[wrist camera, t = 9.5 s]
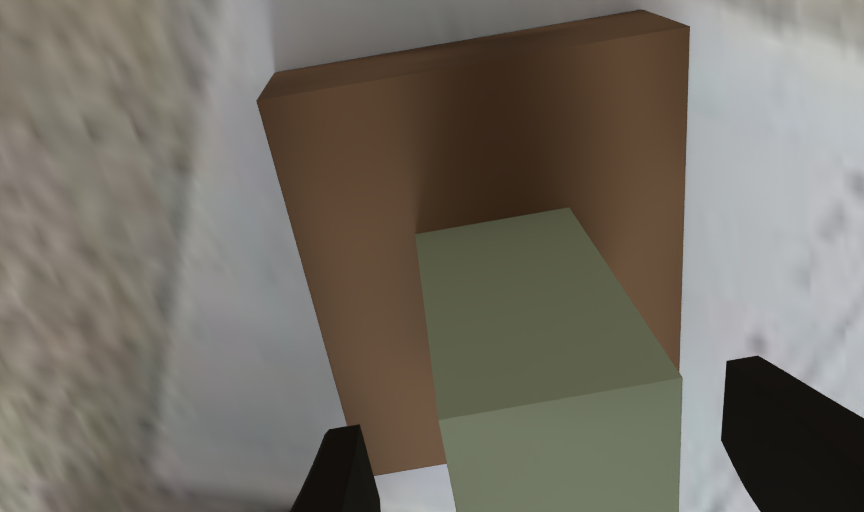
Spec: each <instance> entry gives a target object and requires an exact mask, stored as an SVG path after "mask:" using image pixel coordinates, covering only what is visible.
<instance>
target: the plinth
mask: <svg viewBox="0 0 864 512" xmlns="http://www.w3.org/2000/svg"><path fill="white" fill-rule="evenodd" d="M689 36H690V26H687V25H685V24H682V23H679V22H676V21H673V20H670V19H668V18H665V17H662V16H659V15H656V14H653V13H651V12H648V11H645V10H637V11H631V12H625V13H620V14H614V15H608V16H602V17H596V18H590V19H585V20H579V21H573V22H567V23H561V24H556V25H550V26H544V27H538V28H532V29H526V30H521V31H515V32H509V33H503V34H497V35H492V36H486V37H480V38H474V39H468V40H463V41H457V42H451V43H445V44H439V45H433V46H428V47H422V48H416V49H410V50H404V51H399V52H393V53H387V54H381V55H375V56H369V57H364V58H358V59H352V60H346V61H340V62H335V63H329V64H323V65H317V66H311V67H305V68H300V69H294V70H288V71H282V72H276V73H274V74H273V76H272V77H271V79H270V80H269V82H268V84H267V85H266V87H265V88H264V90H263V91H262V93H261V95H260V96H259V98H258V99H257V104H258V108H259V111H260V115H261V119H262V122H263V126H264V129H265V133H266V136H267V140H268V144H269V147H270V151H271V154H272V158H273V161H274V165H275V169H276V172H277V176H278V179H279V183H280V187H281V190H282V194H283V197H284V201H285V204H286V208H287V212H288V215H289V219H290V222H291V226H292V230H293V233H294V237H295V240H296V244H297V247H298V251H299V255H300V258H301V262H302V265H303V269H304V273H305V276H306V280H307V283H308V287H309V290H310V294H311V298H312V301H313V305H314V308H315V312H316V315H317V319H318V323H319V326H320V330H321V333H322V337H323V341H324V344H325V348H326V351H327V355H328V358H329V362H330V366H331V369H332V373H333V376H334V380H335V384H336V387H337V391H338V394H339V398H340V401H341V405H342V409H343V412H344V416H345V419H346V423H347V426H352V425H358V424H360V427H361V430H362V434H363V438H364V442H365V445H366V449H367V453H368V457H369V460H370V464H371V468H372V472H373V475H374V476H377V475H383V474H388V473H394V472H400V471H406V470H412V469H418V468H424V467H430V466H435V465H441V464H447V461H446V456H445V451H444V446H443V441H442V436H441V431H440V426H439V420H438V413H437V405H436V397H435V389H434V381H433V373H432V365H431V357H430V349H429V341H428V333H427V325H426V317H425V309H424V301H423V293H422V285H421V277H420V269H419V261H418V253H417V245H416V237H415V234H420V233H426V232H431V231H437V230H443V229H448V228H454V227H460V226H466V225H471V224H477V223H483V222H489V221H494V220H500V219H506V218H511V217H517V216H523V215H529V214H534V213H540V212H546V211H552V210H557V209H563V208H570V209H571V211H572V212H573V214H574V215H575V217H576V218H577V220H578V221H579V223H580V224H581V226H582V227H583V229H584V230H585V232H586V233H587V235H588V236H589V238H590V239H591V241H592V242H593V244H594V245H595V247H596V248H597V250H598V251H599V253H600V254H601V256H602V257H603V259H604V260H605V262H606V263H607V265H608V266H609V268H610V269H611V271H612V272H613V274H614V275H615V277H616V278H617V280H618V281H619V283H620V284H621V286H622V287H623V289H624V290H625V292H626V293H627V295H628V296H629V298H630V300H631V301H632V303H633V304H634V306H635V307H636V309H637V310H638V312H639V313H640V315H641V316H642V318H643V319H644V321H645V322H646V324H647V325H648V327H649V328H650V330H651V331H652V333H653V334H654V336H655V337H656V339H657V340H658V342H659V343H660V345H661V346H662V348H663V349H664V351H665V352H666V354H667V355H668V357H669V358H670V360H671V361H672V363H673V364H674V366H675V367H676V369H677V370H678V372H679V364H680V331H681V298H682V266H683V233H684V200H685V167H686V135H687V102H688V69H689Z"/></svg>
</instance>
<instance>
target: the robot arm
mask: <svg viewBox="0 0 864 512" xmlns="http://www.w3.org/2000/svg"><path fill="white" fill-rule="evenodd" d="M721 441H722V443H723V445H724V447H725V449H726V451H727V453H728V456H729V458H730V460H731V462H732V464H733V466H734V468H735V470H736V472H737V474H738V476H739V477H740V479H741V481H742V483H743V485H744V487H745V489H746V490H747V492H748V493H749V495H750V496H751V498H752V500H753V501H754V503H755V504H756V506H757V507H758V509H759V510H760V512H864V418H862V417H860V416H859V415H857V414H855V413H854V412H852V411H850V410H848V409H847V408H845V407H843V406H841V405H840V404H838V403H836V402H835V401H833V400H831V399H830V398H828V397H826V396H825V395H823V394H821V393H820V392H818V391H816V390H815V389H813V388H811V387H810V386H808V385H806V384H805V383H803V382H801V381H800V380H798V379H797V378H795V377H793V376H792V375H790V374H788V373H787V372H785V371H783V370H782V369H780V368H778V367H777V366H775V365H773V364H772V363H770V362H768V361H766V360H765V359H763V358H761V357H759V356H753V357H747V358H741V359H735V360H730V361H727V363H726V377H725V391H724V406H723V420H722V434H721ZM290 512H381V510H380V498H379V494H378V490H377V487H376V483H375V479H374V475H373V472H372V468H371V464H370V460H369V457H368V453H367V449H366V445H365V442H364V438H363V434H362V430H361V427H360V424H358V425H352V426H346V427H340V428H334V429H329V430H328V431H327V432H326V434H325V435H324V438H323V440H322V443H321V445H320V448H319V450H318V453H317V455H316V458H315V460H314V462H313V465H312V467H311V469H310V471H309V474H308V476H307V478H306V480H305V482H304V485H303V487H302V489H301V491H300V493H299V495H298V497H297V499H296V501H295V503H294V505H293V507H292V509H291V511H290Z"/></svg>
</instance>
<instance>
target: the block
mask: <svg viewBox="0 0 864 512" xmlns="http://www.w3.org/2000/svg"><path fill="white" fill-rule="evenodd" d="M415 237H416V245H417V253H418V261H419V269H420V277H421V285H422V293H423V301H424V309H425V317H426V325H427V333H428V341H429V349H430V357H431V365H432V373H433V381H434V389H435V397H436V405H437V413H438V420H439V426H440V431H441V436H442V441H443V446H444V451H445V456H446V461H447V466H448V471H449V476H450V481H451V486H452V491H453V496H454V501H455V507H456V512H679V483H680V448H681V414H682V380H683V378H682V376H681V375H680V373H679V372H678V370H677V369H676V367H675V366H674V364H673V363H672V361H671V360H670V358H669V357H668V355H667V354H666V352H665V351H664V349H663V348H662V346H661V345H660V343H659V342H658V340H657V339H656V337H655V336H654V334H653V333H652V331H651V330H650V328H649V327H648V325H647V324H646V322H645V321H644V319H643V318H642V316H641V315H640V313H639V312H638V310H637V309H636V307H635V306H634V304H633V303H632V301H631V300H630V298H629V296H628V295H627V293H626V292H625V290H624V289H623V287H622V286H621V284H620V283H619V281H618V280H617V278H616V277H615V275H614V274H613V272H612V271H611V269H610V268H609V266H608V265H607V263H606V262H605V260H604V259H603V257H602V256H601V254H600V253H599V251H598V250H597V248H596V247H595V245H594V244H593V242H592V241H591V239H590V238H589V236H588V235H587V233H586V232H585V230H584V229H583V227H582V226H581V224H580V223H579V221H578V220H577V218H576V217H575V215H574V214H573V212H572V211H571V209H570V208H563V209H557V210H552V211H546V212H540V213H534V214H529V215H523V216H517V217H511V218H506V219H500V220H494V221H489V222H483V223H477V224H471V225H466V226H460V227H454V228H448V229H443V230H437V231H431V232H426V233H420V234H415Z"/></svg>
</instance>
